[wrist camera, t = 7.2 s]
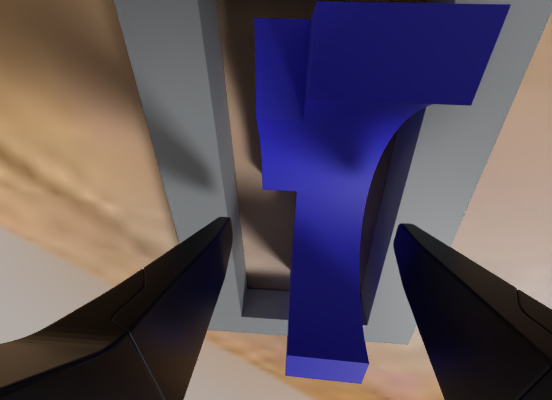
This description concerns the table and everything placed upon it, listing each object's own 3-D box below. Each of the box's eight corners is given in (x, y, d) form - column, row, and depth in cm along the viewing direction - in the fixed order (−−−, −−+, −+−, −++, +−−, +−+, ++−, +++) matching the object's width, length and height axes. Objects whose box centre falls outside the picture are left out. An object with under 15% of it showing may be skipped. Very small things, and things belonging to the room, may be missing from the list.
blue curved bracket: (267, 26, 9) (226, 0, 4) (392, 29, 9) (510, 4, 4) (266, 264, 16) (248, 371, 10) (341, 270, 15) (361, 383, 10)
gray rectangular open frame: (542, -99, 7) (619, -146, 5) (396, 313, 16) (408, 344, 15) (130, -74, 8) (85, -105, 6) (212, 301, 17) (202, 329, 16)
